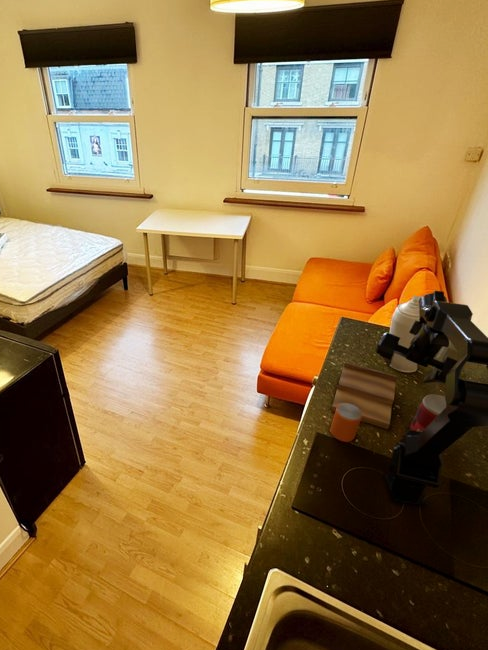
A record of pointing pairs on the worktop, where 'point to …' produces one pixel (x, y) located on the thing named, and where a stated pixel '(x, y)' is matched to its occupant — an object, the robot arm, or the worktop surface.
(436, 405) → the canned food
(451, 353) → the squeeze bottle
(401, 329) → the spray can
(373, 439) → the worktop surface
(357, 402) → the spice shelf
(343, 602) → the worktop surface
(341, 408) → the orange tin
